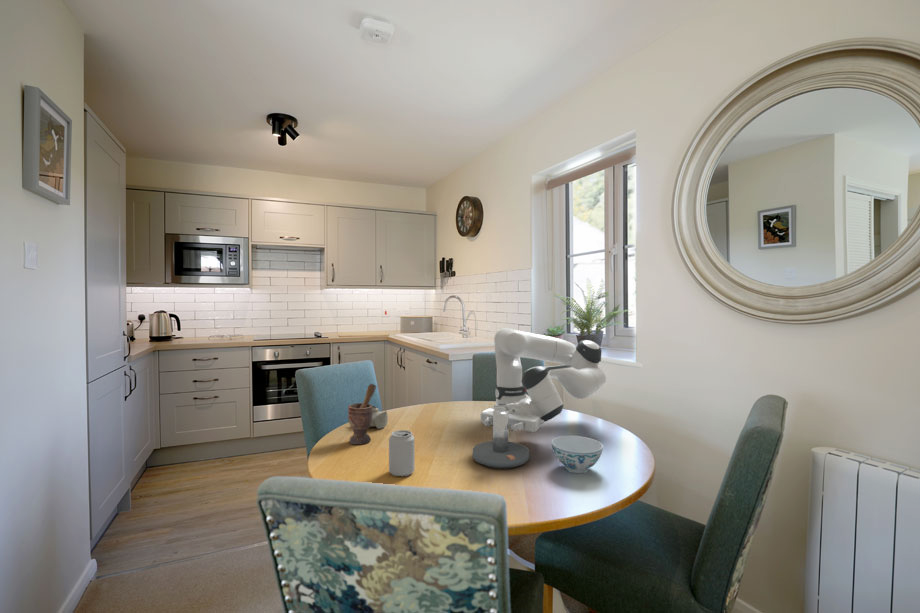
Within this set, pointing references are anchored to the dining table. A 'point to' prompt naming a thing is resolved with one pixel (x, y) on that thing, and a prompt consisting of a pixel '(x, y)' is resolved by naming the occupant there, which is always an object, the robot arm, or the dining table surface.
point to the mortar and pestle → (361, 418)
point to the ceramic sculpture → (379, 418)
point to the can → (401, 453)
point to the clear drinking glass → (500, 431)
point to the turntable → (500, 455)
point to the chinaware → (577, 452)
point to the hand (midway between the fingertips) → (499, 425)
